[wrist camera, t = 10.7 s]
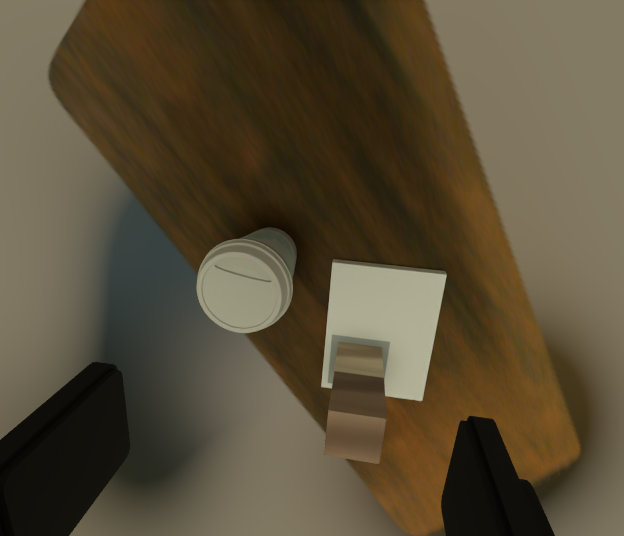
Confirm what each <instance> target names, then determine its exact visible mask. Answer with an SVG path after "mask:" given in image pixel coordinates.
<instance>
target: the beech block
mask: <svg viewBox="0 0 624 536" xmlns="http://www.w3.org/2000/svg"><path fill="white" fill-rule="evenodd" d="M334 371H338V372H345V373H352V374H359V375H366V376H374V377H381V378H384V374H383V355H382V347H376V346H368V345H360V344H353V343H345V342H338V348H337V355H336V361H335V368H334ZM333 377H334V376H333Z"/></svg>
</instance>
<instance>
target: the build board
mask: <svg viewBox="0 0 624 536" xmlns="http://www.w3.org/2000/svg"><path fill="white" fill-rule="evenodd" d="M446 276H447V275H446V273H445V271H441V270H431V269H422V268H413V267H403V266H394V265H385V264H375V263H366V262H357V261H347V260H338V259H333V262H332V273H331V284H330V296H329V307H328V318H327V329H326V340H325V352H324V363H323V374H322V385H321V387H326V388H332V384H333V376H334V368H335V361H336V355H337V348H338V342H345V343H353V344H360V345H368V346H376V347H382V355H383V374H384V384H385V396H390V397H397V398H404V399H411V400H418V401H422V399H423V394H424V389H425V383H426V378H427V373H428V368H429V363H430V358H431V353H432V347H433V342H434V337H435V332H436V327H437V322H438V317H439V312H440V306H441V301H442V296H443V291H444V286H445V281H446Z"/></svg>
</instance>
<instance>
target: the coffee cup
mask: <svg viewBox="0 0 624 536" xmlns="http://www.w3.org/2000/svg"><path fill="white" fill-rule="evenodd" d="M296 258H297V250H296V246H295V243H294V242H293V240H292V238H291V237H290V236H289V235H288V234H287V233H285V232H284V231H282V230H280V229H277V228H271V227H268V228H263V229H260V230H258V231H255V232H253V233H251V234H249V235H246V236H244V237H242V238H240V239H234V240H229V241H226V242H223V243H221V244H219V245H217V246H216V247H214V248H213V249H212V250H211V251H210V252H209V253H208V254H207V256H206V257H205V259H204V260H203V262H202V264H201V266H200V269H199V272H198V279H197V295H198V299H199V302H200V304H201V306H202V308H203V310H204V311H205V313H206V314H207V315H208V316H209V318H210V319H212V320H213V321H214V322H215V323H216V324H218V325H219V326H221V327H223V328H225V329H227V330H230V331H233V332H240V333H250V332H255V331H258V330H261V329H263V328H266V327H268V326H270V325H272V324H273V323H275V322H276V321H277V320H278V319H279V318H280V317H281V316H282V315H283V314H284V313H285V312H286V310H287V308H288V307H289V304H290V302H291V298H292V292H293V286H292V279H293V274H294V269H295V264H296Z"/></svg>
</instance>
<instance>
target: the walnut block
mask: <svg viewBox="0 0 624 536" xmlns="http://www.w3.org/2000/svg"><path fill="white" fill-rule="evenodd" d="M385 424H386V403H385V384H384V378H381V377H374V376H366V375H359V374H352V373H345V372H338V371H334V377H333V384H332V390H331V397H330V404H329V411H328V421H327V430H326V440H325V451H324V455H328V456H333V457H340V458H346V459H352V460H358V461H364V462H370V463H377V464H379V461H380V455H381V449H382V443H383V437H384V430H385Z"/></svg>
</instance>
